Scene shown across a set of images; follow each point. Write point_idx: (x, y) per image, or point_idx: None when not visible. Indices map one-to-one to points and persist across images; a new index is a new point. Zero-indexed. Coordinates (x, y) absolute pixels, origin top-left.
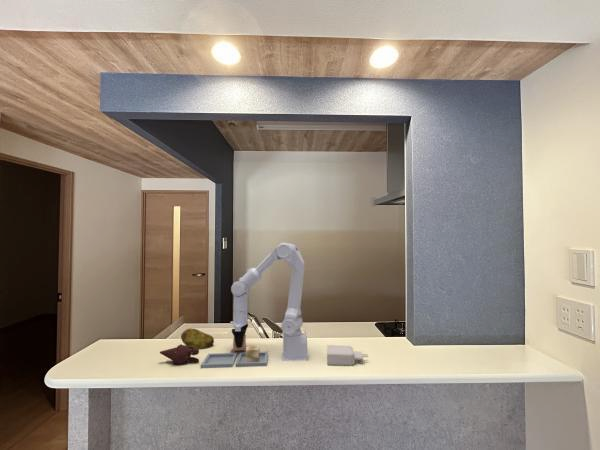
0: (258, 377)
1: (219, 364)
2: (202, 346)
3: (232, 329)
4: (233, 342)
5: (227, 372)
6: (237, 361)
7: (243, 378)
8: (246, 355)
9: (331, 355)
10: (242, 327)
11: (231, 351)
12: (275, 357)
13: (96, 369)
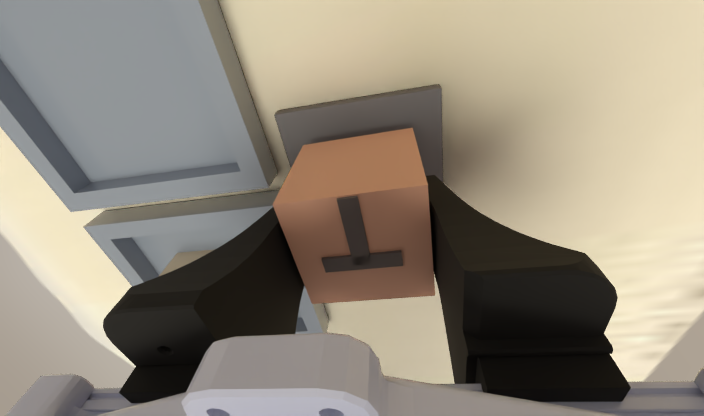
0: (84, 312)
1: (2, 128)
2: None
3: (148, 316)
4: (285, 183)
5: (31, 185)
6: (120, 229)
7: (35, 268)
8: None
9: None
10: (459, 357)
11: (350, 106)
12: None
13: None
